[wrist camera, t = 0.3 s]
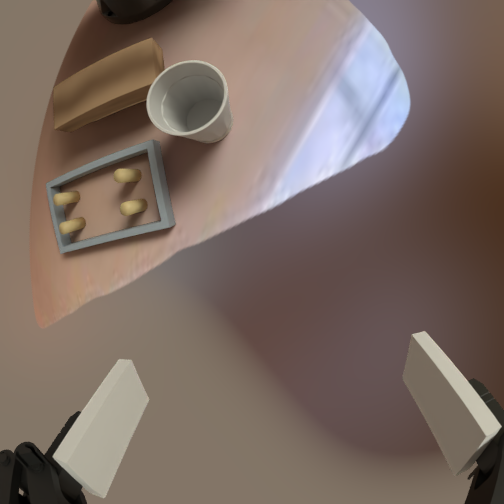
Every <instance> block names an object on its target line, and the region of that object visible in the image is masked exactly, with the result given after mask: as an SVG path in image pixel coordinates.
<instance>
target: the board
mask: <svg viewBox="0 0 504 504" xmlns="http://www.w3.org/2000/svg"><path fill="white" fill-rule="evenodd" d="M164 70H165V69H164V61H163V52H162V49H161V48H160V47H159V45H158V44H157V43H156V42H155V41H154V40H153V39H152V37H151V38H149V39H146V40H144V41H141V42H139V43H136V44H134V45H131V46H129V47H127V48H124V49H122V50H120V51H118V52H116V53H113V54H111V55H109V56H107V57H105V58H103V59H101V60H99V61H97V62H95V63H93V64H91V65H90V66H88V67H86V68H84V69H82V70H81V71H79V72H77V73H75V74H74V75H72V76H70V77H69V78H67V79H65V80H64V81H62V82H61V83H59V84H58V85H56V86H55V87H54V88H53V110H54V130H60V131H67V132H73V131H74V130H76V129H78V128H80V127H82V126H84V125H86V124H88V123H90V122H92V121H94V120H97V119H99V118H101V117H103V116H105V115H108V114H110V113H112V112H114V111H117V110H119V109H122V108H124V107H126V106H129V105H131V104H134V103H137V102H139V101H142V100H145V99H147V95H148V92H149V89H150V87H151V85H152V83H153V82H154V80H155V79H156V78H157V77H158V76H159V75H160V74H161V73H162V72H163V71H164Z"/></svg>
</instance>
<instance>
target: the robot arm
mask: <svg viewBox="0 0 504 504" xmlns="http://www.w3.org/2000/svg"><path fill="white" fill-rule="evenodd" d="M96 1H97V4H98V7H99V9H100V12H101V14H102V15H103V16H104V17H105V18H106V19H108V20H109V21H110V22H112V23H116V24H126V23H132V22H136V21H139V20H141V19H144V18H146V17H148V16H150V15H152V14H154V13H156V12H158V11H159V10H161V9H162V8H163V7H165V6H166V5H167V4H169V3H170V2H171V1H172V0H96ZM402 379H403V381H404V382H405V384H406V386H407V388H408V389H409V391H410V393H411V394H412V396H413V398H414V400H415V402H416V403H417V405H418V407H419V409H420V410H421V412H422V414H423V416H424V418H425V420H426V422H427V423H428V425H429V427H430V429H431V431H432V433H433V435H434V437H435V439H436V440H437V443H438V445H439V446H440V448H441V450H442V452H443V454H444V457H445V459H446V460H447V463H448V465H449V467H450V469H451V471H452V473H453V475H454V477H455V476H457V475H459V474H461V473H462V472H464V471H466V470H468V469H469V468H470V467H471V466H472V465H473V464H474V463H475V461H476V462H477V464H478V466H477V467H476V468H475V469H474V471H473V472H472V473H471V474H470V475H469V477H468V479H470V478H471V477H472V476H473V475H474V477H473V480H472V484H471V486H470V490H469V493H468V496H467V498H466V501H465V504H504V410H503V409H502V407H501V406H500V405H499V403H498V402H497V401H496V400H495V399H494V397H493V396H492V395H491V393H489V391H488V390H487V389H486V387H485V386H484V385H483V384H482V383H480V382H479V381H477V380H475V379H471V380H469V381H467V380H466V379H465V377H464V376H463V375H462V374H461V373H460V371H459V370H458V369H457V368H456V366H454V364H453V363H452V362H451V360H450V359H449V358H448V357H447V356H446V355H445V353H444V352H443V351H442V350H441V349H440V348H439V346H437V344H436V343H435V342H434V341H433V340H432V339H431V338H430V336H429V335H428V334H427V333H426V332H425V331H423V332H420V333H416V334H412V335H411V341H410V346H409V351H408V356H407V361H406V365H405V369H404V373H403V377H402ZM148 402H149V398H148V396H147V394H146V392H145V390H144V388H143V386H142V383H141V381H140V378H139V376H138V375H137V372H136V369H135V367H134V365H133V362H132V360H123V359H119V360H118V361H117V363H116V364H115V365H114V367H113V368H112V369H111V371H110V372H109V374H108V375H107V376H106V378H105V379H104V381H103V382H102V383H101V385H100V386H99V388H98V389H97V391H96V392H95V393H94V395H93V396H92V398H91V399H90V401H89V402H88V404H87V405H86V406H85V408H84V409H83V411H82V412H79V411H78V412H76V413H75V414H74V415H73V416H71V417H70V418H69V419H68V421H67V422H66V424H65V427H63V428H62V430H61V433H59V434H58V436H57V437H56V439H55V440H54V442H53V443H52V445H51V446H50V448H49V449H48V451H47V452H46V454H45V455H43V453H41V452H40V450H39V449H38V448H37V447H36V446H35V445H34V444H33V443H31V442H24V443H21V444H20V445H18V446H17V448H16V449H15V451H14V453H13V452H12V451H10V450H3V451H1V452H0V504H87V502H86V499H85V496H84V494H83V492H82V491H81V489H82V487H84V488H85V489H86V490H87V491H88V492H90V493H91V494H94V495H97V496H99V497H102V498H105V496H106V494H107V492H108V489H109V487H110V485H111V483H112V480H113V478H114V476H115V473H116V471H117V469H118V467H119V464H120V462H121V460H122V458H123V456H124V453H125V451H126V449H127V446H128V445H129V442H130V440H131V438H132V436H133V434H134V431H135V429H136V427H137V425H138V423H139V421H140V419H141V416H142V414H143V412H144V410H145V408H146V406H147V404H148ZM19 488H20V489H21V490H23V491H24V494H23V496H22V495H21V494H19Z"/></svg>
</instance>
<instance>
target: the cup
mask: <svg viewBox="0 0 504 504" xmlns="http://www.w3.org/2000/svg"><path fill="white" fill-rule="evenodd" d="M146 105H147V112H148V115H149V118H150V120H151V121H152V123H153V124H154V125H155V126H156V127H157V128H158V129H159V130H161V131H163V132H165V133H167V134H170V135H175V136H180V137H185V138H189V139H193V140H197V141H199V142H202V143H214V142H217V141H220V140H221V139H223V138H224V137H225V136H226V135H227V134H228V133H229V132H230V130H231V128H232V125H233V115H232V112H231V109H230V104H229V96H228V88H227V83H226V80H225V78H224V76H223V75H222V73H221V72H220V71H219V70H218V69H217V68H216V67H214V66H213V65H211V64H209V63H207V62H203V61H198V60H189V61H183V62H179V63H176V64H174V65H172V66H170V67H168V68H167V69H165V70H164V71H163V72H162V73H161V74H160V75H159V76H158V77H157V78H156V79H155V80H154V82H153V83H152V85H151V87H150V89H149V92H148V95H147V103H146Z"/></svg>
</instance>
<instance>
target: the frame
mask: <svg viewBox="0 0 504 504" xmlns="http://www.w3.org/2000/svg"><path fill="white" fill-rule="evenodd" d="M147 152H148V157H149V163H150V168H151V174H152V179H153V184H154V189H155V194H156V199H157V204H158V208H159V213H160V217H161V220H160V221H156V222H152V223H147V224H143V225H139V226H135V227H131V228H127V229H123V230H119V231H115V232H111V233H107V234H104V235H100V236H96V237H92V238H89V239H85V240H81V241H78V242H74V243H71V239H70V235H69V233H70V232H73V231H76V230H79V229H82V228H84V227H85V224H86V222H85V219H84V218H82V217H80V218H76V219H73V220H69V221H66V218H65V213H64V208H63V205H65V204H70V203H75V202H78V201H79V199H80V194H79V192H78V191H74V192H66V193H61V192H60V186H62V185H64V184H66V183H68V182H70V181H73V180H75V179H77V178H80V177H82V176H84V175H87V174H89V173H92V172H94V171H97V170H99V169H102V168H104V167H107V166H110V165H112V164H115V163H118V162H121V161H123V160H126V159H129V158H132V157H135V156H138V155H141V154H144V153H147ZM141 176H142V174H141V172H140V170H138V169H117V170H116V171H115V173H114V180H115V181H116V182H117V183H123V182H137V181H139V180H140V179H141ZM46 188H47V195H48V200H49V206H50V211H51V216H52V221H53V225H54V230H55V234H56V238H57V242H58V246H59V249H60V253H61V254H62V253H65V252H69V251H73V250H77V249H81V248H84V247H88V246H92V245H96V244H100V243H104V242H108V241H112V240H117V239H121V238H125V237H129V236H134V235H138V234H142V233H147V232H151V231H156V230H160V229H165V228H169V227H172V226H173V225H175V224H176V223H175V219H174V214H173V210H172V205H171V200H170V196H169V191H168V186H167V181H166V176H165V170H164V165H163V159H162V154H161V148H160V142H159V141H156V140H150V141H147V142H144V143H141V144H138V145H135V146H132V147H129V148H126V149H124V150H121V151H118V152H116V153H113V154H110V155H108V156H105V157H103V158H100V159H98V160H95V161H93V162H91V163H88V164H86V165H84V166H81V167H79V168H77V169H75V170H73V171H70V172H68V173H66V174H64V175H62V176H60V177H58V178H56V179H54V180H52V181H50V182H48V183H46ZM146 209H147V201H146V200H145V199H138V200H133V201H128V202H124V203H122V204H121V206H120V211H121V213H122V215H124V216H128V215H132V214H135V213H138V212H142V211H145V210H146Z"/></svg>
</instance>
